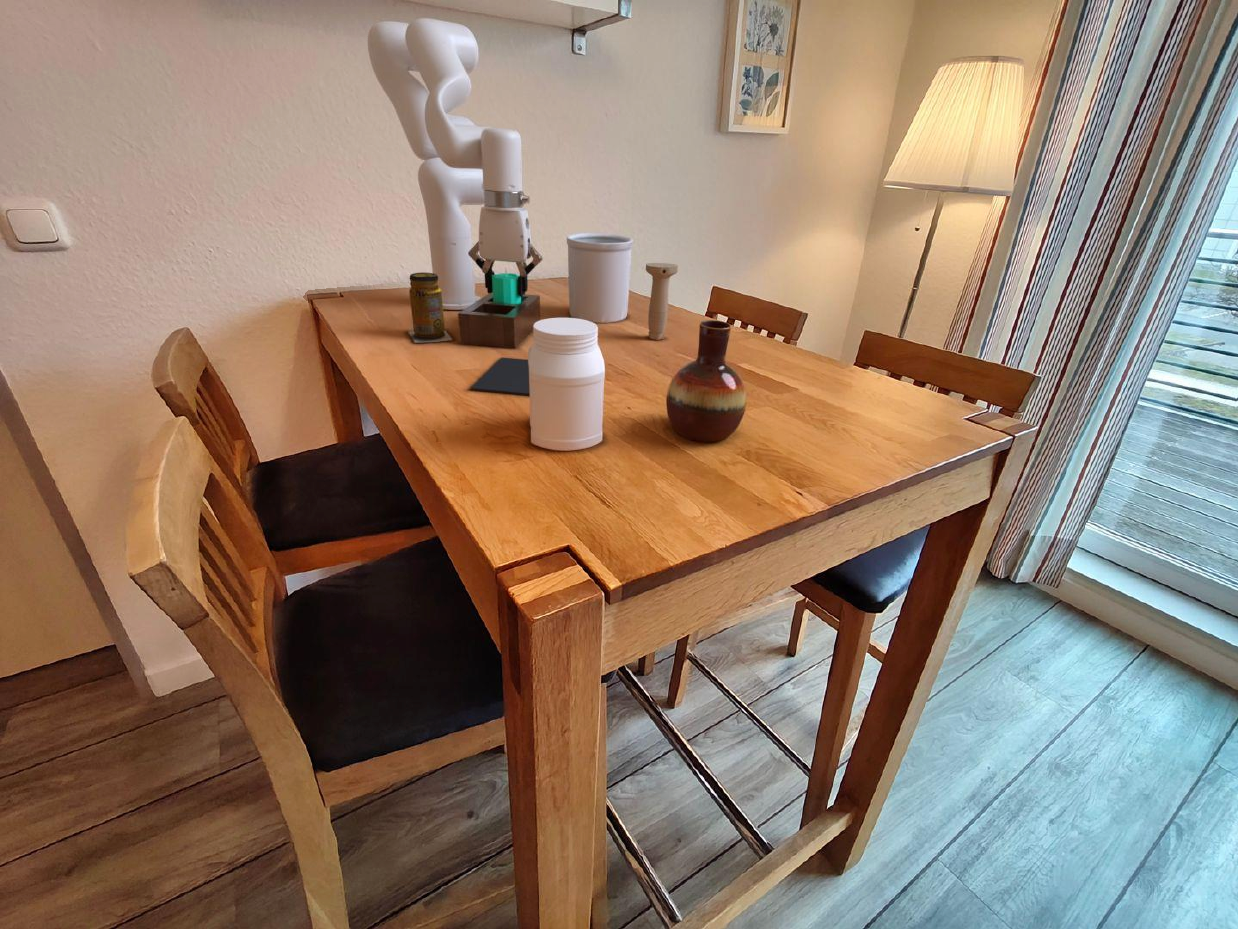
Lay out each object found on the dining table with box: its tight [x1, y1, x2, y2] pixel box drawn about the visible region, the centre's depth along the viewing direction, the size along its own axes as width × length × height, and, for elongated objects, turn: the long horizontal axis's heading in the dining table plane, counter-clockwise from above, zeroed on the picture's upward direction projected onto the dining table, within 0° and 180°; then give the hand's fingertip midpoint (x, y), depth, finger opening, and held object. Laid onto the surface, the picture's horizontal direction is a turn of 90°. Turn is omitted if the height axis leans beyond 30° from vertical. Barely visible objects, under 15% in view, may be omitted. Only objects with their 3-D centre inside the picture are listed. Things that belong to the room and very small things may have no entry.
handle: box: [645, 262, 679, 341], centre depth 121 cm, size 5×6×15 cm
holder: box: [457, 292, 541, 349], centre depth 122 cm, size 11×20×6 cm, turn 173°
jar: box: [527, 317, 606, 452], centre depth 78 cm, size 12×10×15 cm
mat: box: [470, 357, 530, 397], centre depth 100 cm, size 18×16×1 cm
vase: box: [665, 319, 747, 443], centre depth 80 cm, size 11×11×15 cm
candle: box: [492, 267, 521, 304], centre depth 124 cm, size 6×6×12 cm
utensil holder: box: [566, 232, 634, 324], centre depth 135 cm, size 15×15×18 cm
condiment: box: [407, 272, 453, 344], centre depth 115 cm, size 7×8×12 cm
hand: (506, 292), depth 124 cm, fingers closed on candle, 6 cm apart
